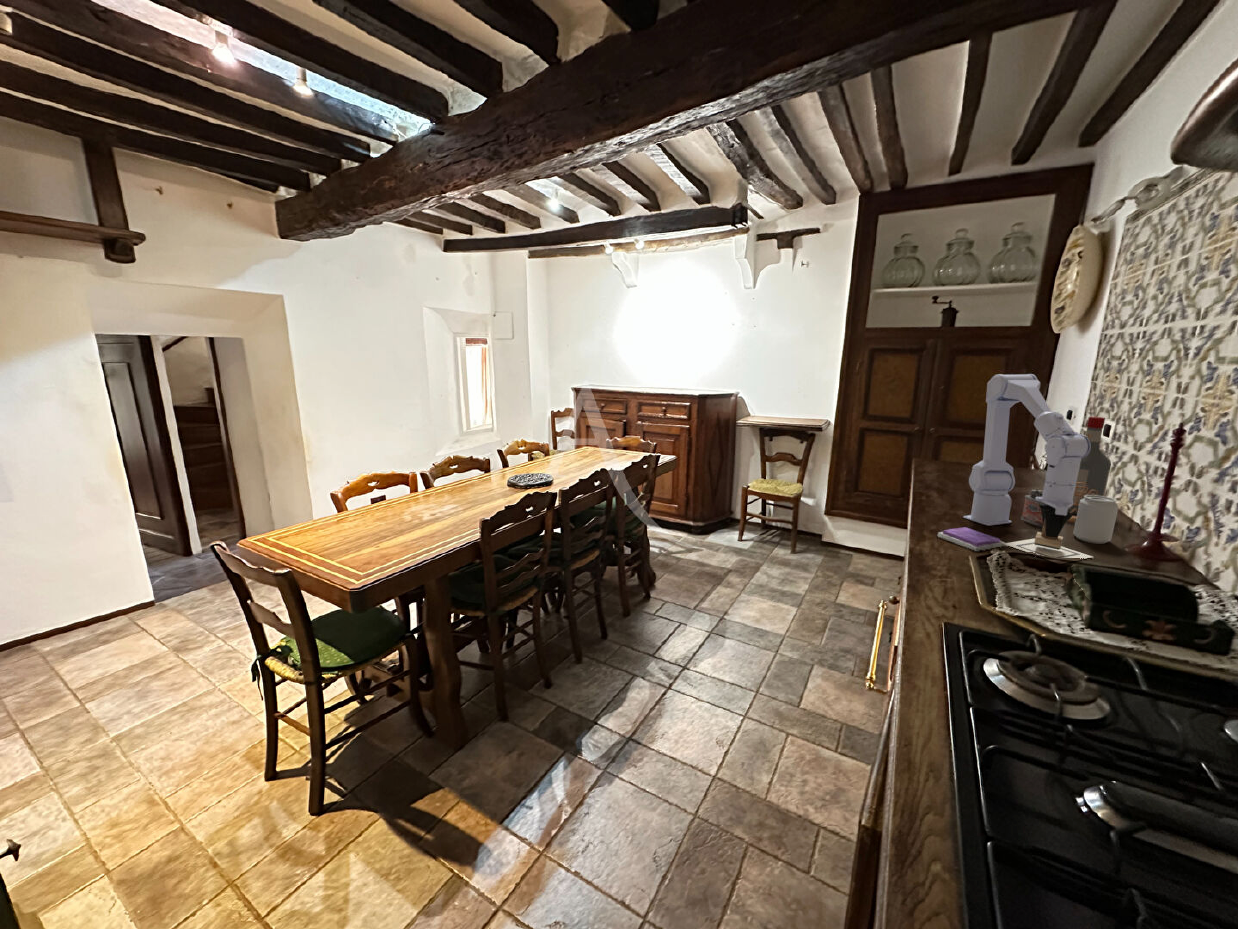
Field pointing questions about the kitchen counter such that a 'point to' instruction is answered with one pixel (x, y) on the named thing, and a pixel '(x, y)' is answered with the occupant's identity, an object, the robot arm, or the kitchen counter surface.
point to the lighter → (1033, 508)
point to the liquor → (1093, 464)
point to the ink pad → (970, 539)
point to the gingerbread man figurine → (1073, 518)
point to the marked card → (1046, 550)
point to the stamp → (1048, 540)
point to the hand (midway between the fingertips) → (1050, 534)
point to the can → (1096, 519)
